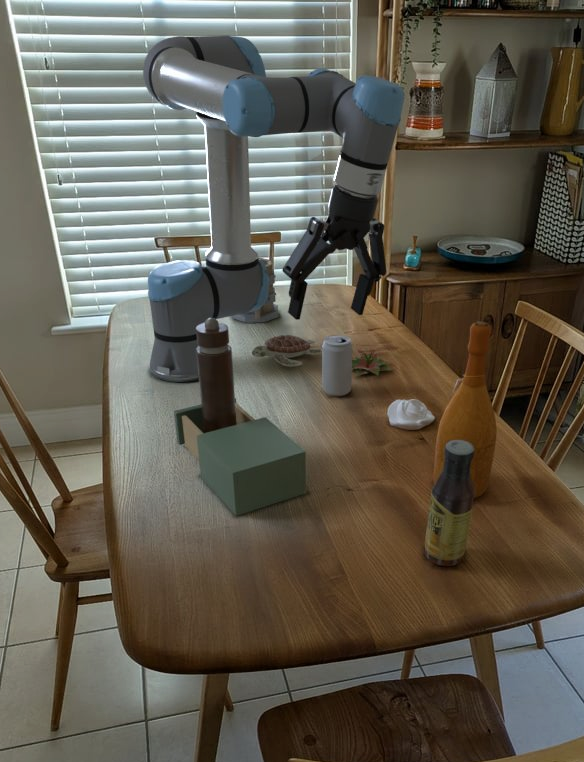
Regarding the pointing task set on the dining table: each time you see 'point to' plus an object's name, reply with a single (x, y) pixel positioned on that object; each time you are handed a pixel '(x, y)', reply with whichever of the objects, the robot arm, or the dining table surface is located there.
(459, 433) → the wine bottle
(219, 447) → the cabinet
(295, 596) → the dining table surface
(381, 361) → the lily flower
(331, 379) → the beverage can
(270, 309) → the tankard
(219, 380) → the pepper mill
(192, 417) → the drawer
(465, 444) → the sauce bottle
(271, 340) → the decorative turtle
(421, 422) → the rose
